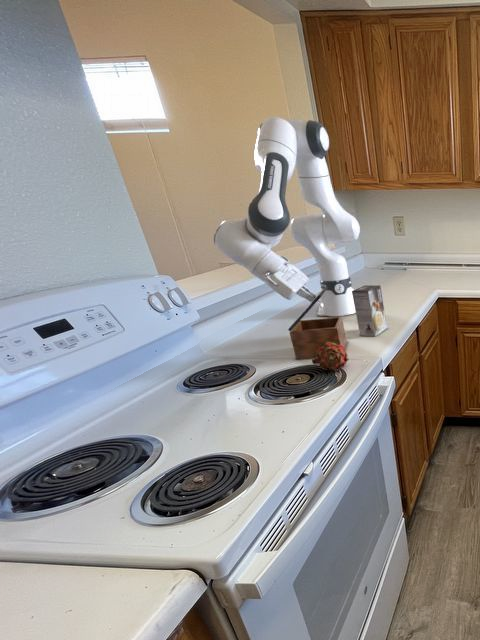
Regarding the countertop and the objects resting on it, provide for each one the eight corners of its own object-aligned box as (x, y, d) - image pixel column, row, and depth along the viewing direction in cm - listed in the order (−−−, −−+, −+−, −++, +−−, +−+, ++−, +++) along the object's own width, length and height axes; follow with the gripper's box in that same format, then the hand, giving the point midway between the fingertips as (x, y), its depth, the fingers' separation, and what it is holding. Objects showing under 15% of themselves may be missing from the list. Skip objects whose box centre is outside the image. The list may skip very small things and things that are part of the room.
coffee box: (371, 327, 155) (364, 284, 148) (387, 328, 154) (381, 285, 147) (359, 335, 147) (351, 290, 140) (376, 336, 145) (368, 291, 139)
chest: (346, 341, 141) (342, 316, 138) (342, 354, 130) (337, 327, 126) (304, 345, 139) (298, 320, 135) (296, 359, 128) (289, 332, 124)
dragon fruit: (343, 380, 116) (325, 375, 124) (361, 356, 119) (342, 352, 127) (318, 362, 110) (301, 358, 118) (338, 337, 113) (320, 335, 121)
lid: (327, 287, 133) (325, 286, 133) (321, 296, 122) (318, 294, 122) (299, 320, 135) (296, 318, 135) (290, 331, 124) (287, 329, 124)
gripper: (268, 266, 112) (314, 299, 118) (286, 256, 130) (325, 284, 136) (254, 284, 113) (300, 315, 119) (274, 271, 131) (313, 299, 137)
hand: (314, 299), depth 128 cm, fingers closed
